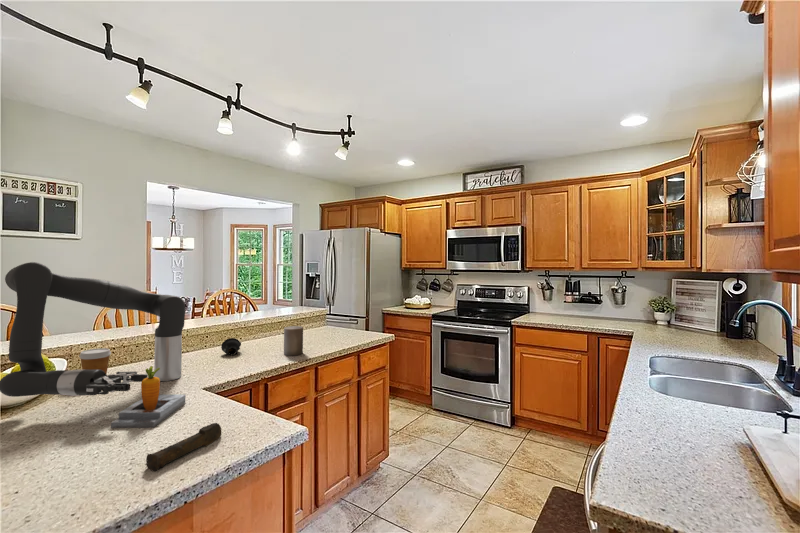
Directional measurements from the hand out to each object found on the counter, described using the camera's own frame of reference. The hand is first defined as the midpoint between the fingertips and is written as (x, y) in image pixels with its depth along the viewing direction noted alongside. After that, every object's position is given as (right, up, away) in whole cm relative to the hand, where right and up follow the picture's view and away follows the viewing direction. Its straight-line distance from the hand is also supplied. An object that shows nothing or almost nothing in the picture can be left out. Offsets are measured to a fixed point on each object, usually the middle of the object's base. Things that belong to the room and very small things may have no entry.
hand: (138, 382), depth 113 cm
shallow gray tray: (+4, -10, 0) cm, 11 cm away
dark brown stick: (+27, -11, -21) cm, 36 cm away
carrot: (+4, -10, 0) cm, 11 cm away
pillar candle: (+25, -10, +79) cm, 84 cm away
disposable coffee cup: (-37, -9, +28) cm, 47 cm away
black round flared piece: (-7, -9, +79) cm, 79 cm away
